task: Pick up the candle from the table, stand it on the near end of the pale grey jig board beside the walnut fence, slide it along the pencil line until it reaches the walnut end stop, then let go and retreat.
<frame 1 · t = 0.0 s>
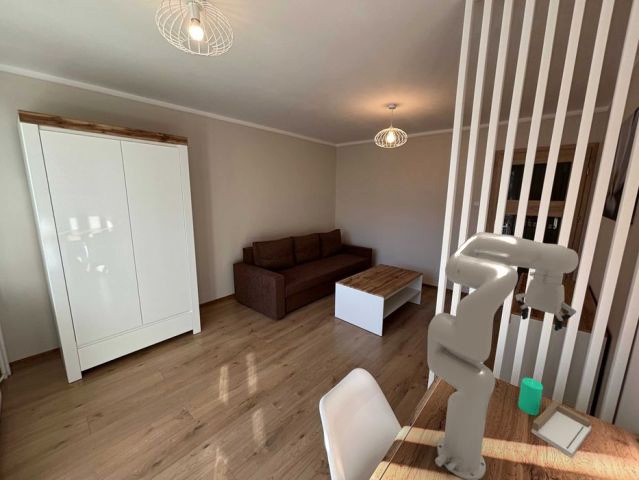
hand: (540, 324, 96), 31 cm above the table, fingers open, 9 cm apart
jig board: (561, 431, 88), on the table
candle: (528, 409, 97), on the table
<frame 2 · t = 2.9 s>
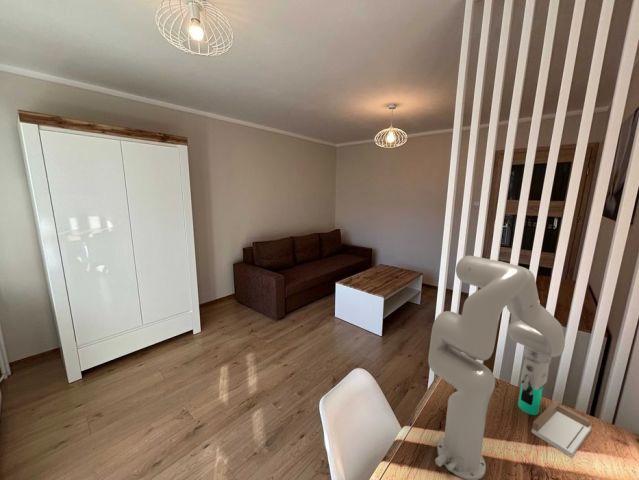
hand: (529, 398, 97), 4 cm above the table, fingers closed on candle, 4 cm apart
candle: (528, 408, 97), on the table, touching gripper
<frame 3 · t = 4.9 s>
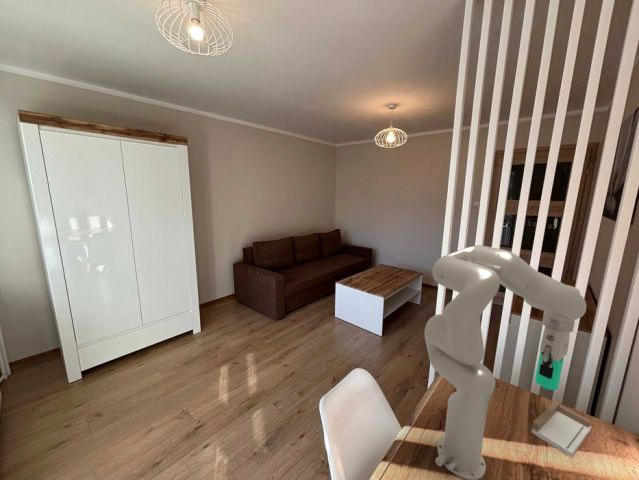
hand: (548, 372, 88), 19 cm above the table, fingers closed on candle, 4 cm apart
candle: (546, 384, 89), point 15 cm above the table, touching gripper
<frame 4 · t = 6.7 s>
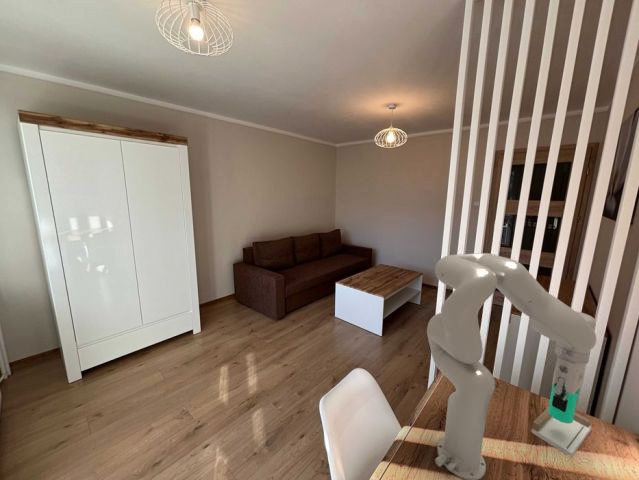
hand: (562, 404, 83), 12 cm above the table, fingers closed on candle, 4 cm apart
candle: (560, 416, 84), point 8 cm above the table, touching gripper
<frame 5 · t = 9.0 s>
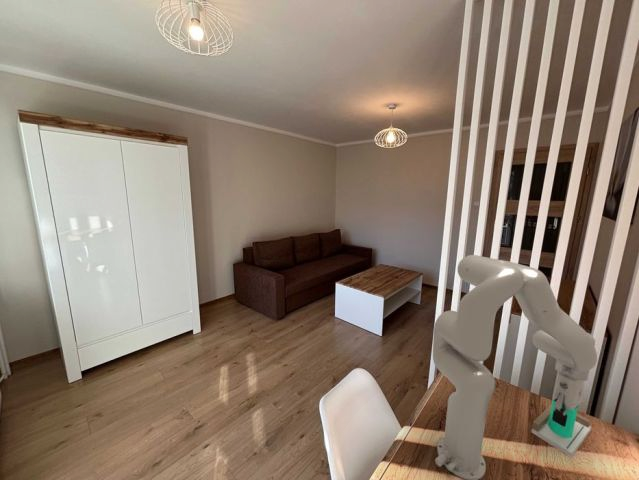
hand: (561, 418, 86), 6 cm above the table, fingers closed on candle, 4 cm apart
candle: (559, 430, 87), point 1 cm above the table, touching gripper
when the fingers open (5 cm above the table, at t = 10.6 s): candle stays where it is, resting on jig board.
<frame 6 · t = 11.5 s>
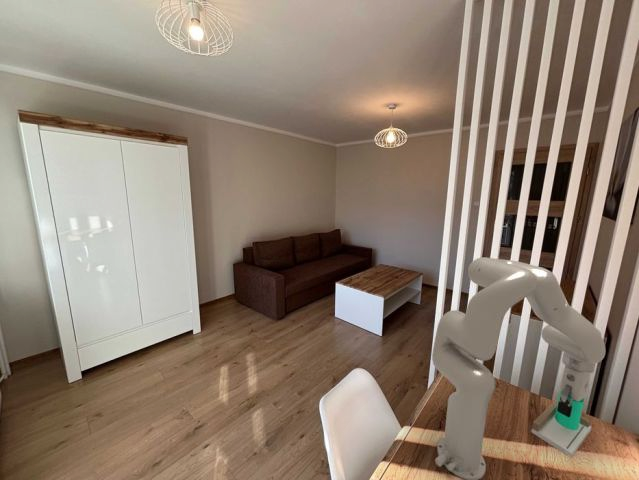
hand: (568, 408, 89), 7 cm above the table, fingers open, 9 cm apart
candle: (566, 423, 90), point 1 cm above the table, touching jig board
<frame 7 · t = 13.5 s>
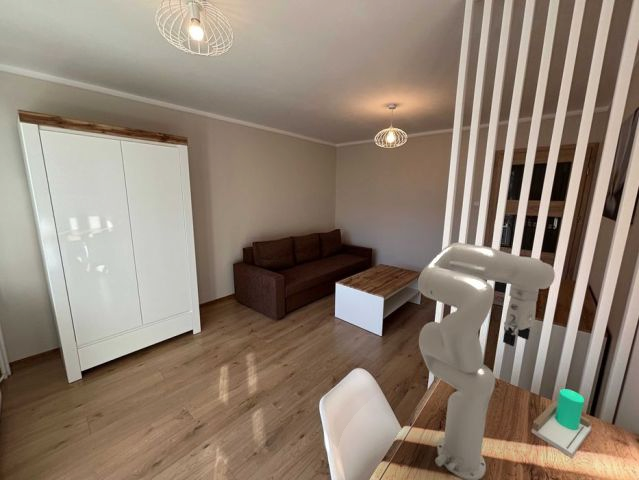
hand: (515, 340, 92), 27 cm above the table, fingers open, 9 cm apart
nothing on the table moved.
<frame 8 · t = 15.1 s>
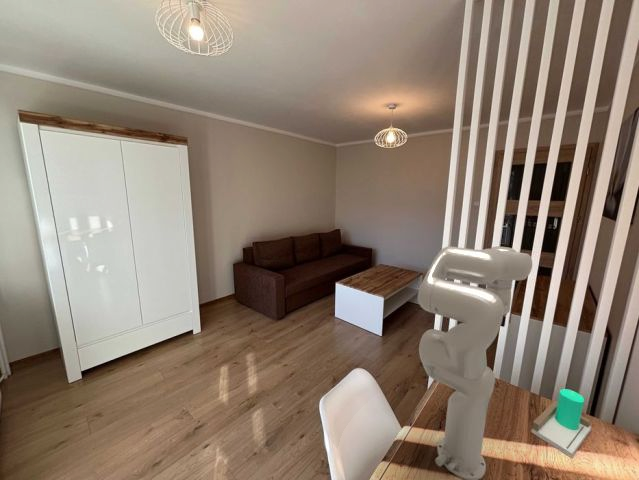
hand: (492, 328, 94), 30 cm above the table, fingers open, 9 cm apart
nothing on the table moved.
at the end: candle 0.2 cm from the target spot, point 1.3 cm above the table; candle tilted 0°; the gripper is holding nothing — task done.
